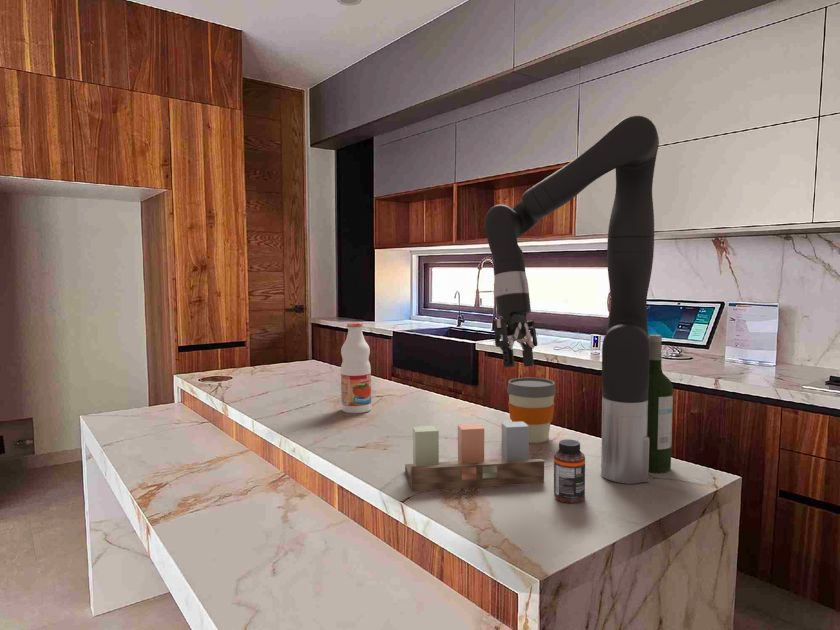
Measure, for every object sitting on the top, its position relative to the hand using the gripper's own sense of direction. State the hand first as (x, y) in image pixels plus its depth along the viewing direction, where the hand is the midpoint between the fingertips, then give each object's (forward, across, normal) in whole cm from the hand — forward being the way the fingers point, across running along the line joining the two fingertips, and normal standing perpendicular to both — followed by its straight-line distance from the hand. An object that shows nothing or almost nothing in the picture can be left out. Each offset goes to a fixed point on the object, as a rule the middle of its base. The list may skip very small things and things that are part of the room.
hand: (519, 366), depth 126 cm
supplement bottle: (+27, -4, -11) cm, 29 cm away
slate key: (+21, +1, +4) cm, 22 cm away
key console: (+23, -7, +10) cm, 26 cm away
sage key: (+20, -13, +18) cm, 30 cm away
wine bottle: (+25, +23, -18) cm, 38 cm away
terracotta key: (+21, -6, +11) cm, 24 cm away
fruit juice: (+8, +18, +71) cm, 73 cm away
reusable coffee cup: (+18, +26, +14) cm, 35 cm away
